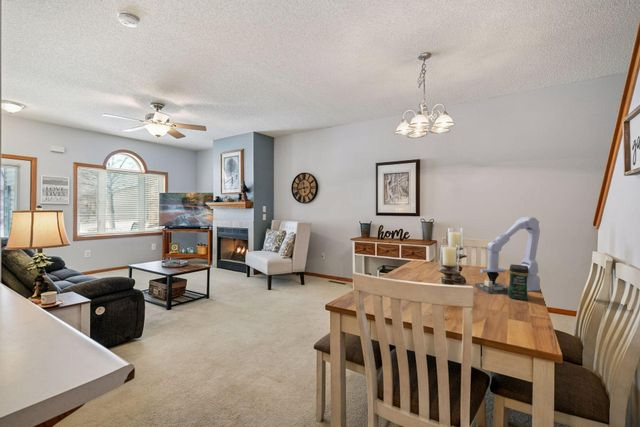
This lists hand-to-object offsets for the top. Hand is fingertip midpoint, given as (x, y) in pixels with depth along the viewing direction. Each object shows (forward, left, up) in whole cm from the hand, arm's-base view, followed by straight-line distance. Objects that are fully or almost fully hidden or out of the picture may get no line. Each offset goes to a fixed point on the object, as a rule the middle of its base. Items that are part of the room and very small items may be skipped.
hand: (492, 284), depth 203 cm
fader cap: (+2, 0, -1) cm, 3 cm away
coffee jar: (-5, +16, -3) cm, 17 cm away
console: (-1, 0, -3) cm, 3 cm away
